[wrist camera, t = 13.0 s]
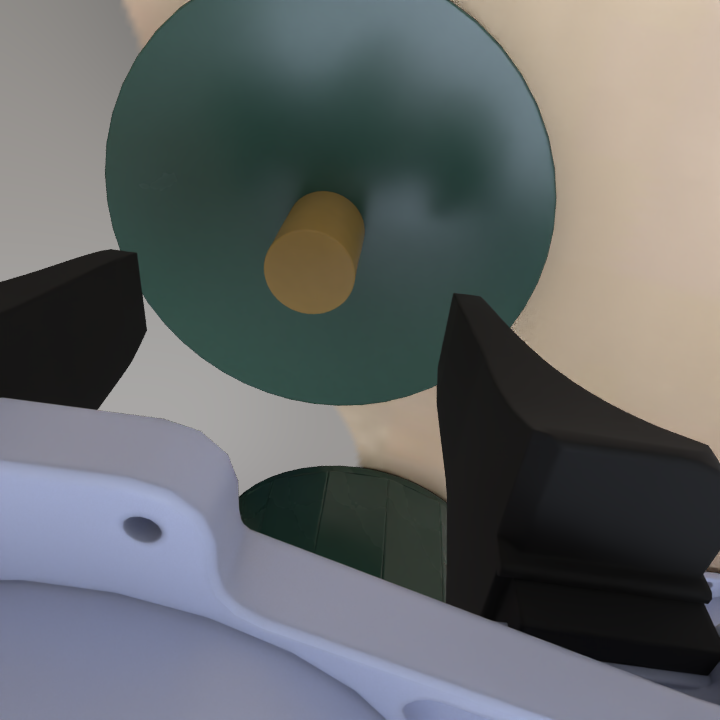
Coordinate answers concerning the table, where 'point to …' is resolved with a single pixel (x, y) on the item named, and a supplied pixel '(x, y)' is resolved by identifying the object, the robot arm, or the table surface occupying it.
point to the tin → (356, 522)
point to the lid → (328, 188)
